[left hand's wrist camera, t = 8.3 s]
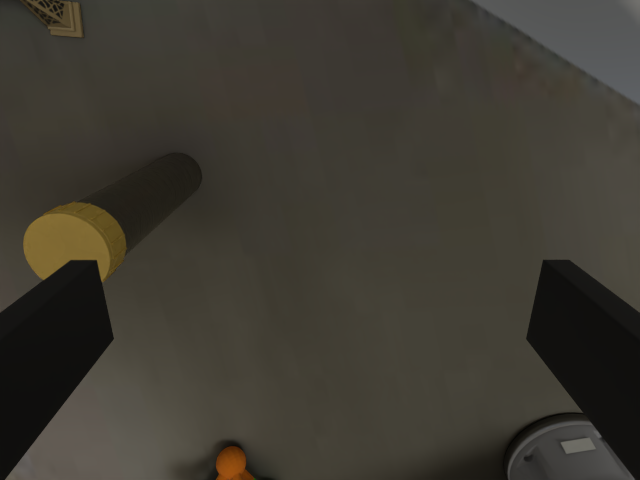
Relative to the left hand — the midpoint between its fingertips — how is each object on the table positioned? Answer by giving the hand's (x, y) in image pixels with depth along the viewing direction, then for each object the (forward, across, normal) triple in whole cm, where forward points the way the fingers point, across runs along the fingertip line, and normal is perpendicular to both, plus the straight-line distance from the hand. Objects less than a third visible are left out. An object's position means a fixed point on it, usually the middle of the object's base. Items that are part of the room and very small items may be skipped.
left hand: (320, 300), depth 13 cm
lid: (+11, +14, +3) cm, 18 cm away
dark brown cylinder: (+31, +14, +3) cm, 34 cm away
